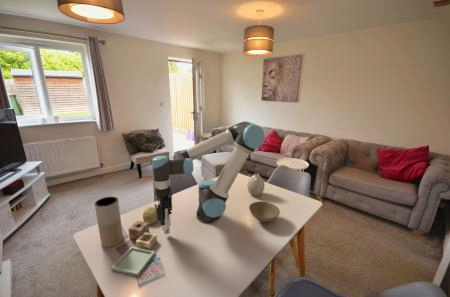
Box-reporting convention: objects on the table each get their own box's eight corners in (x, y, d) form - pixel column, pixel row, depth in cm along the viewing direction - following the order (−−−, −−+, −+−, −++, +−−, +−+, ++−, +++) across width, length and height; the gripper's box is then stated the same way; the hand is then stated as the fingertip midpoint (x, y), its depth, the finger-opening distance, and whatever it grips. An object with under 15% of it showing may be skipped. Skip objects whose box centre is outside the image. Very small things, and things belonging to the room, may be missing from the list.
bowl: (284, 220, 123) (285, 208, 121) (268, 234, 110) (269, 221, 108) (259, 208, 135) (259, 198, 133) (242, 220, 122) (242, 208, 120)
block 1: (149, 232, 111) (148, 222, 109) (141, 240, 104) (140, 230, 103) (138, 230, 112) (137, 220, 111) (129, 238, 106) (128, 228, 104)
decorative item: (149, 230, 118) (157, 219, 115) (136, 220, 118) (144, 208, 115) (157, 221, 127) (165, 211, 124) (145, 211, 127) (153, 201, 124)
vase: (265, 198, 148) (266, 177, 144) (247, 198, 149) (248, 177, 144) (262, 191, 161) (263, 171, 157) (246, 190, 161) (247, 171, 157)
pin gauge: (170, 230, 108) (168, 207, 105) (168, 234, 106) (165, 210, 102) (165, 229, 109) (163, 207, 106) (162, 233, 106) (160, 210, 103)
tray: (155, 253, 96) (155, 251, 95) (137, 276, 83) (137, 273, 83) (131, 248, 99) (131, 246, 98) (111, 270, 86) (110, 267, 86)
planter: (108, 233, 109) (102, 195, 103) (126, 234, 109) (121, 196, 103) (96, 247, 99) (89, 206, 94) (116, 247, 99) (110, 206, 93)
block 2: (157, 241, 104) (156, 234, 103) (149, 250, 98) (148, 243, 97) (145, 238, 106) (144, 232, 105) (136, 248, 99) (135, 241, 98)
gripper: (164, 179, 109) (167, 217, 115) (146, 193, 94) (151, 236, 100) (176, 180, 107) (179, 219, 113) (160, 194, 92) (165, 238, 98)
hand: (166, 227), depth 107 cm, fingers closed on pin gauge, 3 cm apart
